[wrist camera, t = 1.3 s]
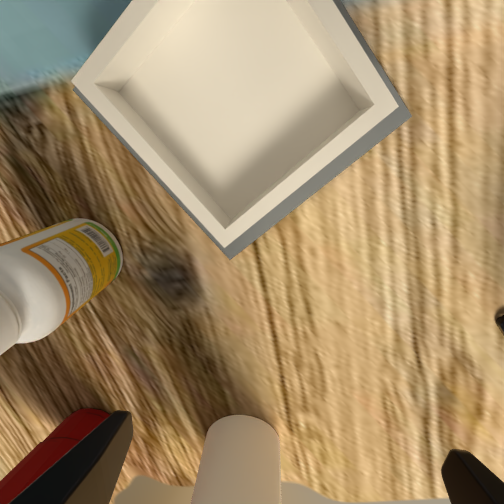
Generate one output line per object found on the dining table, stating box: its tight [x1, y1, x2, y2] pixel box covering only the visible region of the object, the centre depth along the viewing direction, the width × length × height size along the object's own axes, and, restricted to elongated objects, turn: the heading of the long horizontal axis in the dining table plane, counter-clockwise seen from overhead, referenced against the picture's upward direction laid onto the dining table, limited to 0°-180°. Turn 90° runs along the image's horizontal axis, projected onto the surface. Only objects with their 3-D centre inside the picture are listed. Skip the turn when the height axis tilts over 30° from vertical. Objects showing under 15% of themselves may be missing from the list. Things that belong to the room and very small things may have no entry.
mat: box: [73, 0, 412, 260], centre depth 16 cm, size 14×14×1 cm
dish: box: [71, 0, 399, 248], centre depth 15 cm, size 11×11×3 cm
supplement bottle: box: [0, 218, 123, 355], centre depth 16 cm, size 5×5×10 cm
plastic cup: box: [0, 408, 110, 504], centre depth 22 cm, size 11×11×12 cm
